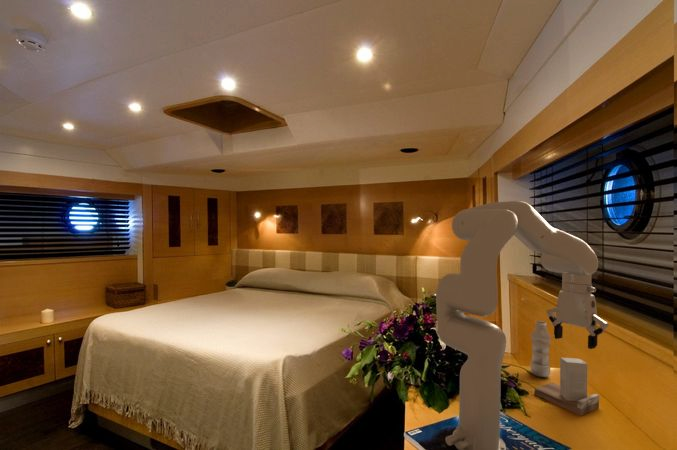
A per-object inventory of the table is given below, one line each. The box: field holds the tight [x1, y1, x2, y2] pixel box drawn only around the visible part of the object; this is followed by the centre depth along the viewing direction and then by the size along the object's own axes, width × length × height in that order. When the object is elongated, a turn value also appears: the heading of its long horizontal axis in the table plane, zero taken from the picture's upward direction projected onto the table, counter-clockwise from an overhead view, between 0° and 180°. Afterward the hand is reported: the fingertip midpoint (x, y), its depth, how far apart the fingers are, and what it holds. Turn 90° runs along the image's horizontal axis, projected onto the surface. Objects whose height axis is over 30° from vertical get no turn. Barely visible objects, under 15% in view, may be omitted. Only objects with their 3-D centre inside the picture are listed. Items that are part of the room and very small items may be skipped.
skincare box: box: [559, 357, 588, 401], centre depth 106 cm, size 6×4×12 cm
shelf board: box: [534, 382, 600, 417], centre depth 108 cm, size 10×14×4 cm
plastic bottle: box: [529, 320, 552, 378], centre depth 127 cm, size 6×7×20 cm
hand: (574, 343), depth 106 cm, fingers open, 9 cm apart
